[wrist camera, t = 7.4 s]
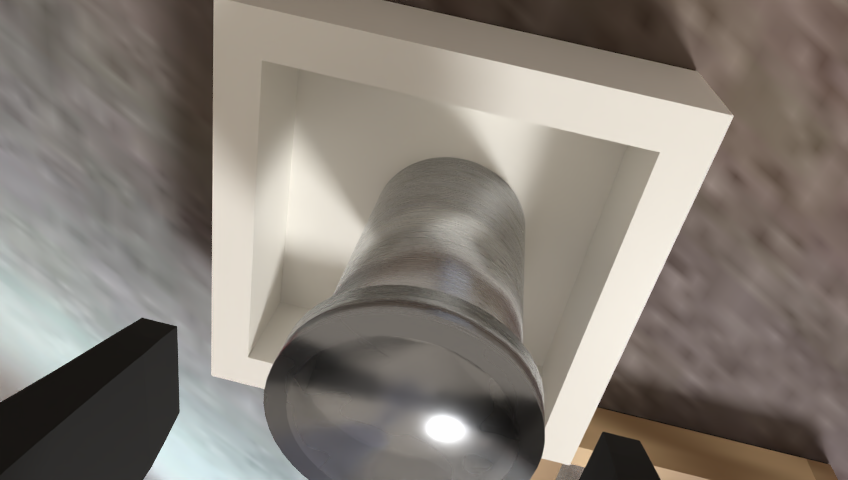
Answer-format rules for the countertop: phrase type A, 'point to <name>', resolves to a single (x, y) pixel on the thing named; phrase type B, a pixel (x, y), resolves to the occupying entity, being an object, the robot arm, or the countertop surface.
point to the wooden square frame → (691, 453)
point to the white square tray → (446, 137)
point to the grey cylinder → (418, 343)
